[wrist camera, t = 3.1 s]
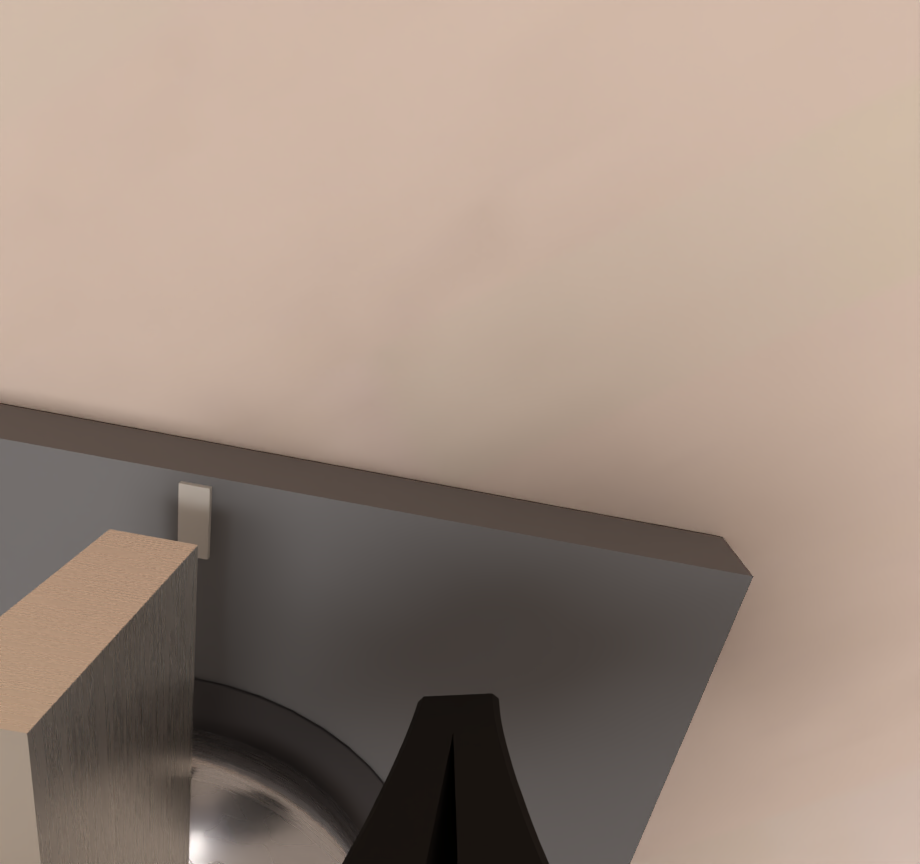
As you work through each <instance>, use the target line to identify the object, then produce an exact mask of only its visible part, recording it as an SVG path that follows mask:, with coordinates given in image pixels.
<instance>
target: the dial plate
mask: <svg viewBox="0 0 920 864" xmlns="http://www.w3.org/2000/svg"><path fill="white" fill-rule="evenodd" d="M109 529H112V530H118V531H123V532H129V533H134V534H140V535H145V536H151V537H156V538H162V539H168V540H173V541H179V542H184V543H190V544H195V545H198V561H197V595H196V629H195V664H194V698H193V728H194V729H199V730H203V731H208V732H212V733H215V734H218V735H221V736H224V737H228V738H231V739H234V740H237V741H240V742H242V743H245V744H247V745H249V746H252V747H254V748H256V749H258V750H261V751H263V752H265V753H267V754H269V755H271V756H273V757H275V758H277V759H278V760H280V761H282V762H284V763H286V764H287V765H289V766H291V767H293V768H294V769H295V770H297V771H298V772H300V773H301V774H303V775H304V776H305V777H307V778H308V779H310V780H311V781H313V782H314V783H315V784H316V785H317V786H319V787H320V788H321V789H322V790H323V791H324V792H325V793H327V794H328V795H329V796H330V797H331V798H332V799H333V800H334V801H335V802H336V803H337V804H338V805H339V806H340V808H341V809H342V810H343V811H344V812H345V813H346V814H347V815H348V816H349V818H350V819H351V821H352V822H353V824H354V825H355V827H356V828H357V830H358V831H359V832H360V830H361V828H362V827H363V825H364V823H365V821H366V819H367V817H368V815H369V813H370V811H371V809H372V807H373V805H374V803H375V801H376V799H377V797H378V795H379V793H380V791H381V789H382V787H383V785H384V783H385V781H386V778H387V776H388V774H389V772H390V770H391V768H392V766H393V764H394V761H395V759H396V757H397V755H398V752H399V750H400V748H401V745H402V743H403V741H404V738H405V736H406V733H407V731H408V728H409V726H410V723H411V721H412V718H413V715H414V712H415V709H416V706H417V703H418V701H419V700H420V699H421V698H423V697H424V696H443V695H465V694H487V693H493V694H494V695H495V696H496V697H498V698H499V704H500V715H501V722H502V727H503V732H504V736H505V740H506V744H507V748H508V751H509V755H510V758H511V762H512V766H513V769H514V772H515V775H516V778H517V781H518V784H519V787H520V790H521V793H522V795H523V798H524V801H525V804H526V807H527V809H528V812H529V815H530V818H531V820H532V823H533V826H534V828H535V831H536V833H537V836H538V838H539V841H540V843H541V846H542V848H543V850H544V853H545V855H546V858H547V860H548V862H549V864H630V862H631V860H632V858H633V855H634V853H635V851H636V848H637V846H638V844H639V841H640V839H641V837H642V834H643V832H644V830H645V827H646V825H647V823H648V820H649V818H650V816H651V813H652V811H653V809H654V806H655V804H656V802H657V799H658V797H659V795H660V792H661V790H662V788H663V785H664V783H665V781H666V778H667V776H668V774H669V771H670V769H671V767H672V764H673V762H674V760H675V757H676V755H677V753H678V750H679V748H680V746H681V744H682V741H683V739H684V737H685V734H686V732H687V730H688V727H689V725H690V723H691V720H692V718H693V716H694V713H695V711H696V709H697V706H698V704H699V702H700V699H701V697H702V695H703V692H704V690H705V688H706V685H707V683H708V681H709V678H710V676H711V674H712V671H713V669H714V667H715V664H716V662H717V660H718V657H719V655H720V653H721V650H722V648H723V646H724V643H725V641H726V639H727V636H728V634H729V632H730V629H731V627H732V625H733V622H734V620H735V618H736V615H737V613H738V611H739V608H740V606H741V604H742V601H743V599H744V597H745V594H746V592H747V590H748V587H749V585H750V583H751V580H752V578H753V576H752V574H751V573H750V572H749V570H748V569H747V568H746V567H745V565H744V564H743V563H742V562H741V560H740V559H739V558H738V556H737V555H736V554H735V553H734V551H733V550H732V549H731V548H730V546H729V545H728V544H727V542H726V541H725V540H724V539H723V537H718V536H713V535H707V534H702V533H696V532H691V531H686V530H680V529H675V528H669V527H664V526H659V525H653V524H648V523H642V522H637V521H632V520H626V519H621V518H615V517H610V516H605V515H599V514H594V513H588V512H583V511H578V510H572V509H567V508H561V507H556V506H550V505H545V504H540V503H534V502H529V501H523V500H518V499H513V498H507V497H502V496H496V495H491V494H486V493H480V492H475V491H469V490H464V489H459V488H453V487H448V486H442V485H437V484H432V483H426V482H421V481H415V480H410V479H405V478H399V477H394V476H388V475H383V474H377V473H372V472H367V471H361V470H356V469H350V468H345V467H340V466H334V465H329V464H323V463H318V462H313V461H307V460H302V459H296V458H291V457H286V456H280V455H275V454H269V453H264V452H259V451H253V450H248V449H242V448H237V447H232V446H226V445H221V444H215V443H210V442H205V441H199V440H194V439H188V438H183V437H177V436H172V435H167V434H161V433H156V432H150V431H145V430H140V429H134V428H129V427H123V426H118V425H113V424H107V423H102V422H96V421H91V420H86V419H80V418H75V417H69V416H64V415H59V414H53V413H48V412H42V411H37V410H32V409H26V408H21V407H15V406H10V405H4V404H0V616H2V615H3V614H4V613H5V612H7V611H8V610H9V609H10V608H12V607H13V606H14V605H15V604H17V603H18V602H19V601H20V600H22V599H23V598H24V597H25V596H27V595H28V594H29V593H30V592H32V591H33V590H34V589H35V588H37V587H38V586H39V585H40V584H42V583H43V582H44V581H45V580H47V579H48V578H49V577H50V576H52V575H53V574H54V573H55V572H57V571H58V570H59V569H60V568H62V567H63V566H64V565H65V564H67V563H68V562H69V561H70V560H72V559H73V558H74V557H75V556H77V555H78V554H79V553H80V552H82V551H83V550H84V549H85V548H87V547H88V546H89V545H90V544H92V543H93V542H94V541H95V540H97V539H98V538H99V537H100V536H102V535H103V534H104V533H105V532H107V531H108V530H109Z"/></svg>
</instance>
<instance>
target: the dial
mask: <svg viewBox="0 0 920 864" xmlns="http://www.w3.org/2000/svg"><path fill="white" fill-rule="evenodd" d="M197 561H198V545H195V544H190V543H184V542H179V541H173V540H168V539H162V538H156V537H151V536H145V535H140V534H134V533H129V532H123V531H118V530H112V529H109V530H108V531H107V532H105V533H104V534H103V535H102V536H100V537H99V538H98V539H97V540H95V541H94V542H93V543H92V544H90V545H89V546H88V547H87V548H85V549H84V550H83V551H82V552H80V553H79V554H78V555H77V556H75V557H74V558H73V559H72V560H70V561H69V562H68V563H67V564H65V565H64V566H63V567H62V568H60V569H59V570H58V571H57V572H55V573H54V574H53V575H52V576H50V577H49V578H48V579H47V580H45V581H44V582H43V583H42V584H40V585H39V586H38V587H37V588H35V589H34V590H33V591H32V592H30V593H29V594H28V595H27V596H25V597H24V598H23V599H22V600H20V601H19V602H18V603H17V604H15V605H14V606H13V607H12V608H10V609H9V610H8V611H7V612H5V613H4V614H3V615H2V616H0V864H342V863H343V861H344V859H345V857H346V856H347V854H348V852H349V850H350V848H351V846H352V845H353V843H354V841H355V839H356V837H357V836H358V834H359V831H358V830H357V828H356V827H355V825H354V824H353V822H352V821H351V819H350V818H349V816H348V815H347V814H346V813H345V812H344V811H343V810H342V809H341V808H340V806H339V805H338V804H337V803H336V802H335V801H334V800H333V799H332V798H331V797H330V796H329V795H328V794H327V793H325V792H324V791H323V790H322V789H321V788H320V787H319V786H317V785H316V784H315V783H314V782H313V781H311V780H310V779H308V778H307V777H305V776H304V775H303V774H301V773H300V772H298V771H297V770H295V769H294V768H293V767H291V766H289V765H287V764H286V763H284V762H282V761H280V760H278V759H277V758H275V757H273V756H271V755H269V754H267V753H265V752H263V751H261V750H258V749H256V748H254V747H252V746H249V745H247V744H245V743H242V742H240V741H237V740H234V739H231V738H228V737H224V736H221V735H218V734H215V733H212V732H208V731H203V730H199V729H194V728H193V698H194V664H195V629H196V595H197Z"/></svg>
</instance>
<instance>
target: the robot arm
mask: <svg viewBox="0 0 920 864" xmlns="http://www.w3.org/2000/svg"><path fill="white" fill-rule="evenodd" d="M342 864H549V862H548V860H547V858H546V855H545V853H544V850H543V848H542V846H541V843H540V841H539V838H538V836H537V833H536V831H535V828H534V826H533V823H532V820H531V818H530V815H529V812H528V809H527V807H526V804H525V801H524V798H523V795H522V793H521V790H520V787H519V784H518V781H517V778H516V775H515V772H514V769H513V766H512V762H511V758H510V755H509V751H508V748H507V744H506V740H505V736H504V732H503V727H502V722H501V715H500V704H499V698H498V697H496V696H495V695H494V694H493V693H487V694H465V695H443V696H424V697H423V698H421V699H420V700H419V701H418V703H417V706H416V709H415V712H414V715H413V718H412V721H411V723H410V726H409V728H408V731H407V733H406V736H405V738H404V741H403V743H402V745H401V748H400V750H399V752H398V755H397V757H396V759H395V761H394V764H393V766H392V768H391V770H390V772H389V774H388V776H387V778H386V781H385V783H384V785H383V787H382V789H381V791H380V793H379V795H378V797H377V799H376V801H375V803H374V805H373V807H372V809H371V811H370V813H369V815H368V817H367V819H366V821H365V823H364V825H363V827H362V828H361V830H360V832H359V834H358V836H357V837H356V839H355V841H354V843H353V845H352V846H351V848H350V850H349V852H348V854H347V856H346V857H345V859H344V861H343V863H342Z"/></svg>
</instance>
